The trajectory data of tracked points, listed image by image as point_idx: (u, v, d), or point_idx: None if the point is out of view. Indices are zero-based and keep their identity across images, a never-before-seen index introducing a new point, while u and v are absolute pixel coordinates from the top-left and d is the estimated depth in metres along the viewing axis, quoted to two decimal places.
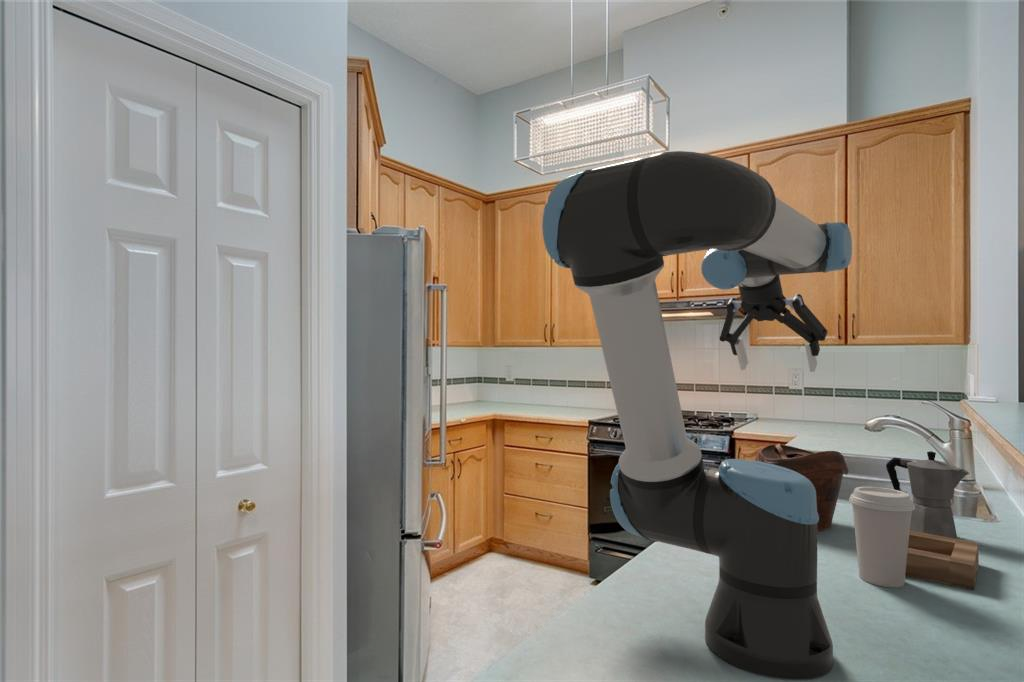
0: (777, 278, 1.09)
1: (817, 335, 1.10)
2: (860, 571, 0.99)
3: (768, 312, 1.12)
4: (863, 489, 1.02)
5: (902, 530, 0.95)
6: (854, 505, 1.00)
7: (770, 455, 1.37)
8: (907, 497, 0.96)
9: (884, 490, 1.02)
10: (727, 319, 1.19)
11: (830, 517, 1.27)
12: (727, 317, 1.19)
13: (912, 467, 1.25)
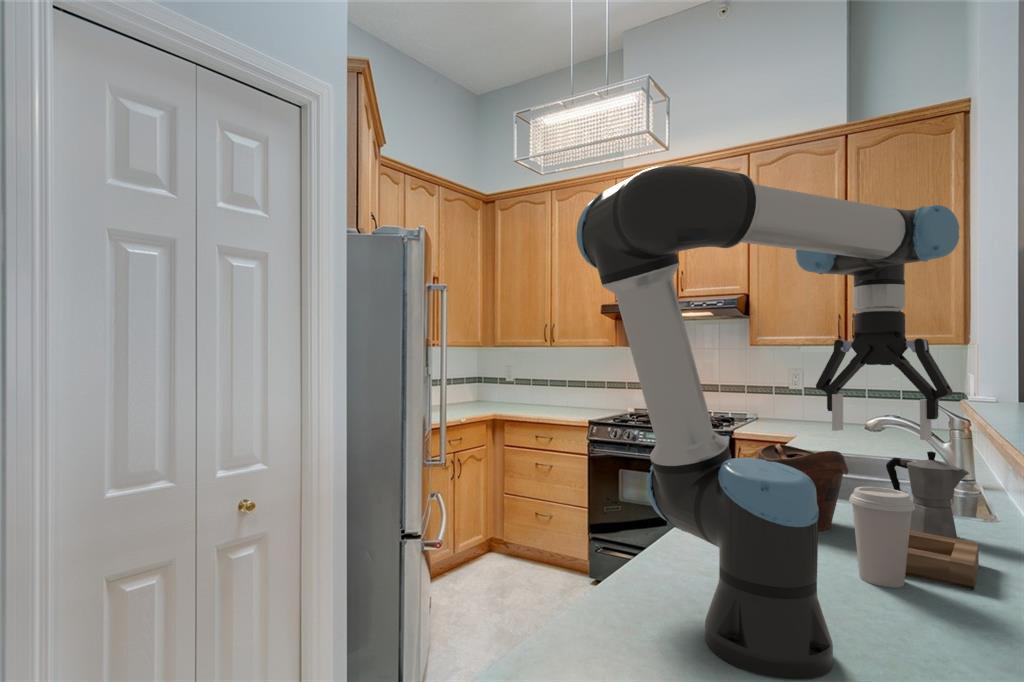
0: (902, 313, 0.97)
1: (938, 388, 0.92)
2: (860, 571, 0.99)
3: (882, 350, 0.98)
4: (863, 489, 1.02)
5: (902, 530, 0.95)
6: (854, 505, 1.00)
7: (770, 455, 1.37)
8: (907, 497, 0.96)
9: (884, 490, 1.02)
10: (831, 359, 1.05)
11: (830, 517, 1.27)
12: (832, 357, 1.05)
13: (912, 467, 1.25)
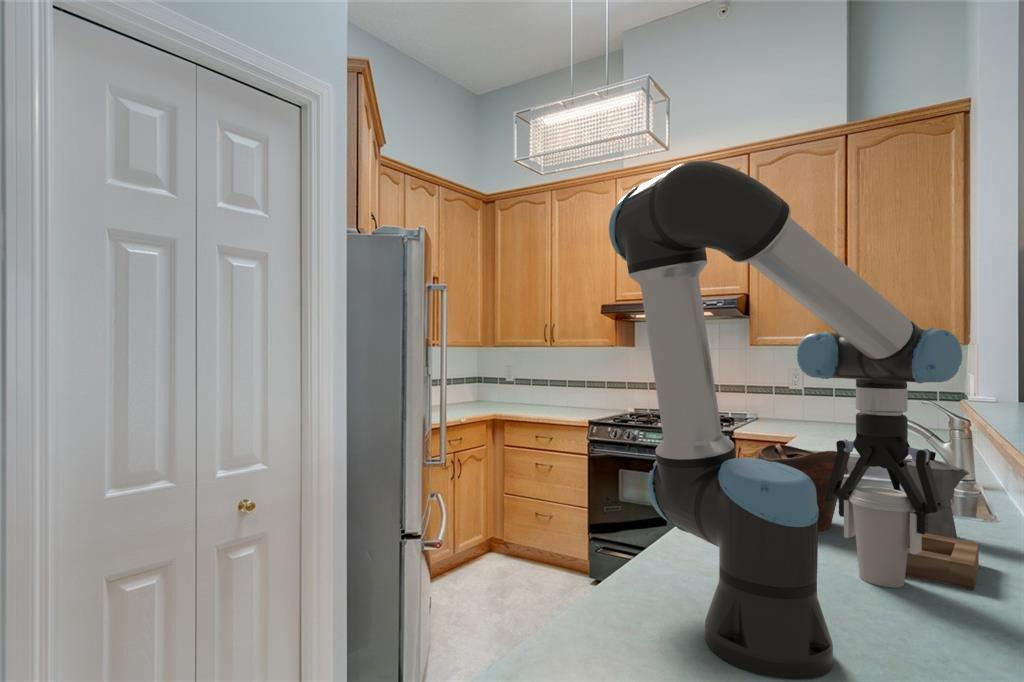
0: (904, 417, 0.97)
1: (929, 503, 0.93)
2: (860, 571, 0.99)
3: (884, 454, 0.97)
4: (863, 489, 1.02)
5: (903, 530, 0.95)
6: (854, 505, 1.00)
7: (770, 455, 1.37)
8: (907, 497, 0.96)
9: (884, 490, 1.01)
10: (837, 461, 1.04)
11: (830, 517, 1.27)
12: (837, 459, 1.04)
13: (912, 467, 1.25)
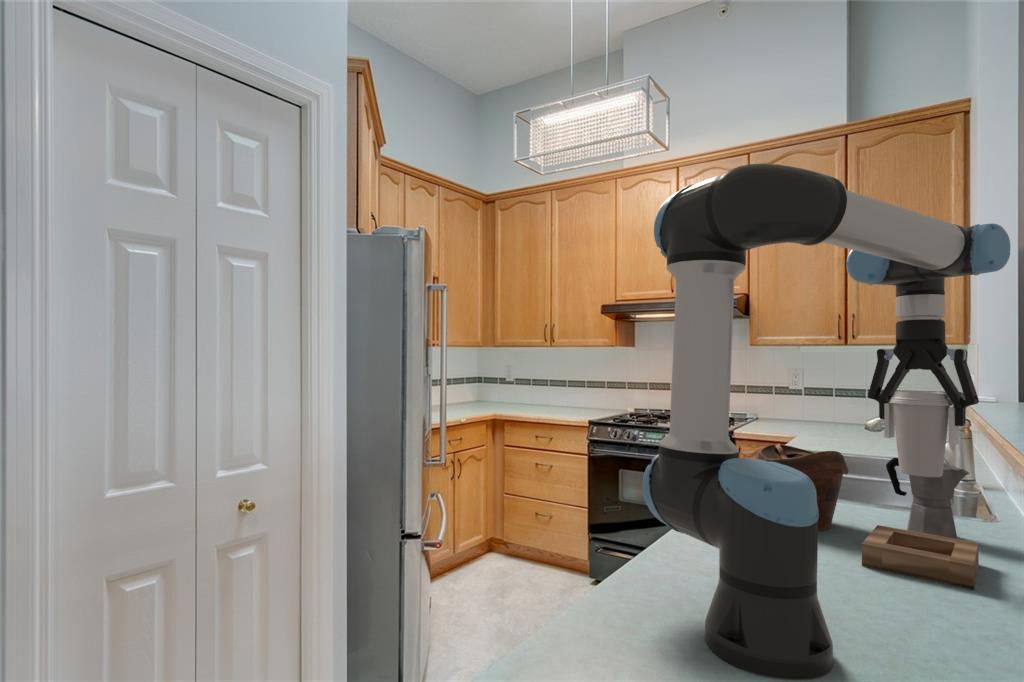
0: (942, 321, 1.04)
1: (967, 396, 1.00)
2: (901, 466, 1.07)
3: (924, 355, 1.05)
4: None
5: (942, 424, 1.03)
6: (895, 405, 1.08)
7: (770, 455, 1.37)
8: (946, 394, 1.04)
9: (922, 393, 1.09)
10: (877, 368, 1.12)
11: (830, 517, 1.27)
12: (877, 366, 1.12)
13: None
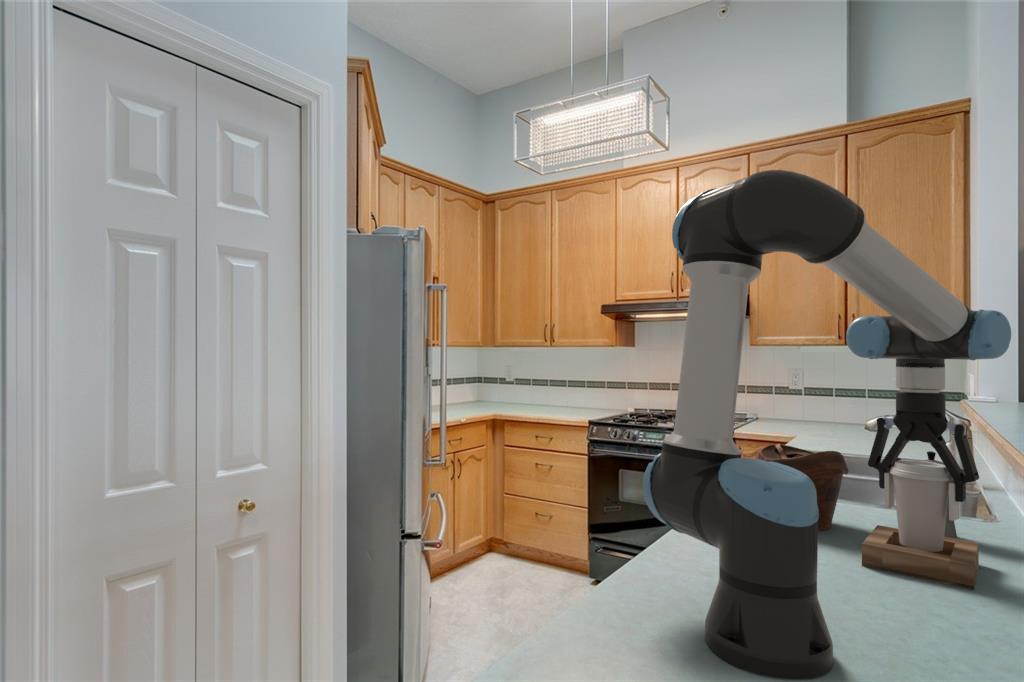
0: (943, 394, 1.04)
1: (967, 473, 1.00)
2: (901, 538, 1.07)
3: (924, 428, 1.05)
4: (903, 462, 1.10)
5: (942, 499, 1.03)
6: (895, 476, 1.07)
7: (770, 455, 1.37)
8: (946, 468, 1.03)
9: (922, 463, 1.09)
10: (877, 437, 1.11)
11: (830, 517, 1.27)
12: (877, 435, 1.11)
13: None
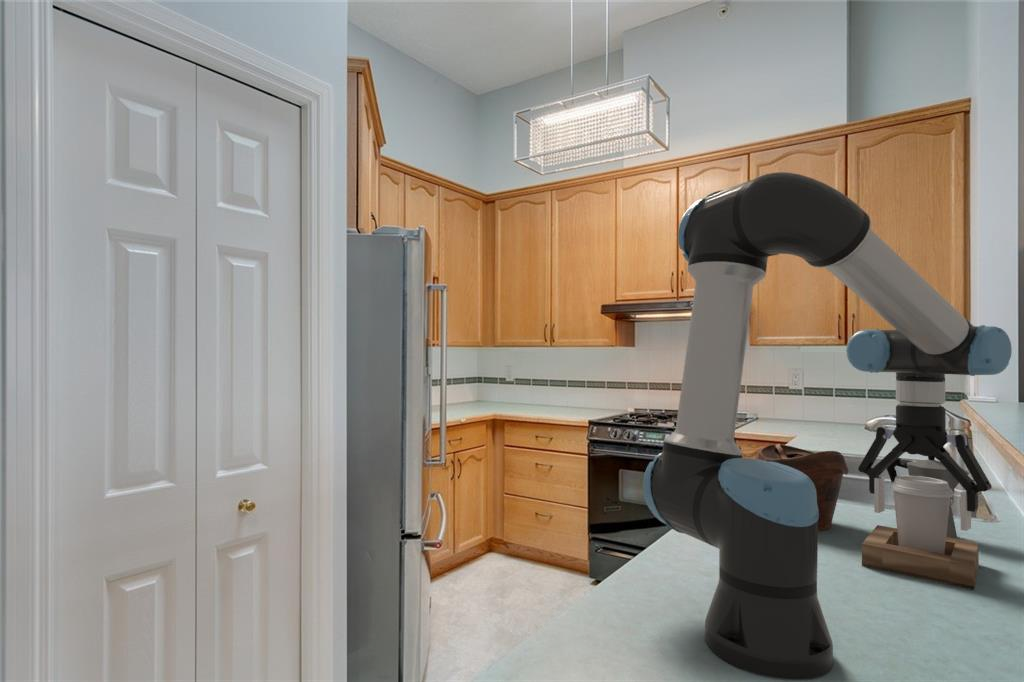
0: (943, 408, 1.04)
1: (978, 483, 0.99)
2: None
3: (924, 442, 1.05)
4: (903, 478, 1.09)
5: (942, 515, 1.02)
6: (895, 492, 1.07)
7: (770, 455, 1.37)
8: (946, 484, 1.03)
9: (923, 478, 1.09)
10: (873, 445, 1.12)
11: (830, 517, 1.27)
12: (874, 443, 1.12)
13: (912, 467, 1.25)
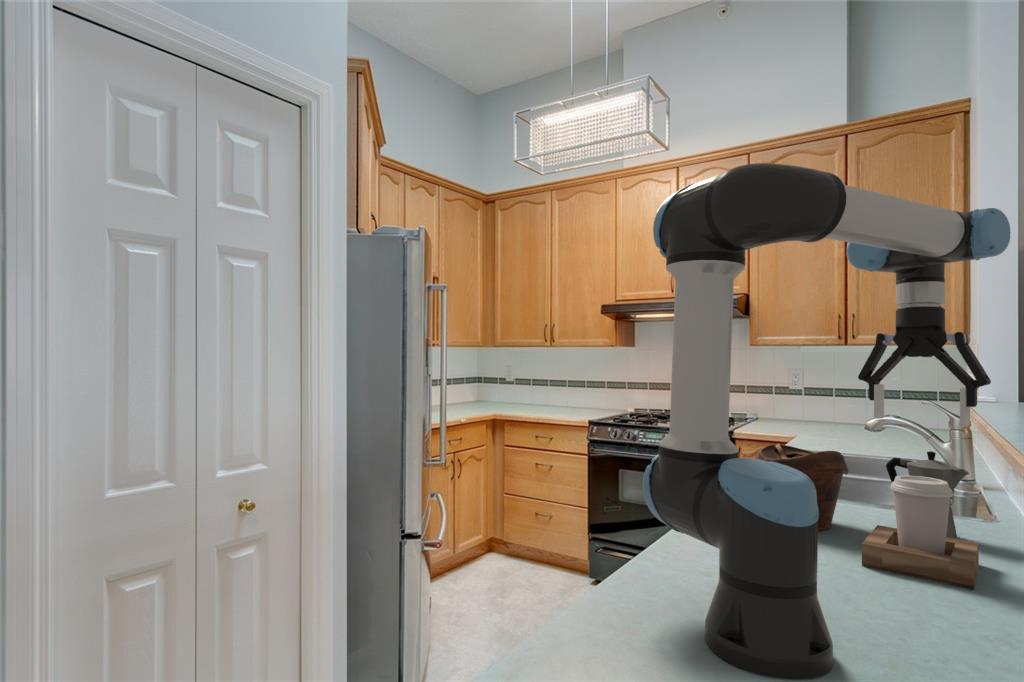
0: (942, 308, 1.05)
1: (977, 377, 0.99)
2: None
3: (924, 342, 1.05)
4: (903, 478, 1.09)
5: (942, 515, 1.03)
6: (895, 492, 1.07)
7: (770, 455, 1.37)
8: (946, 484, 1.03)
9: (923, 478, 1.09)
10: (873, 352, 1.12)
11: (830, 517, 1.27)
12: (874, 349, 1.12)
13: (912, 467, 1.25)
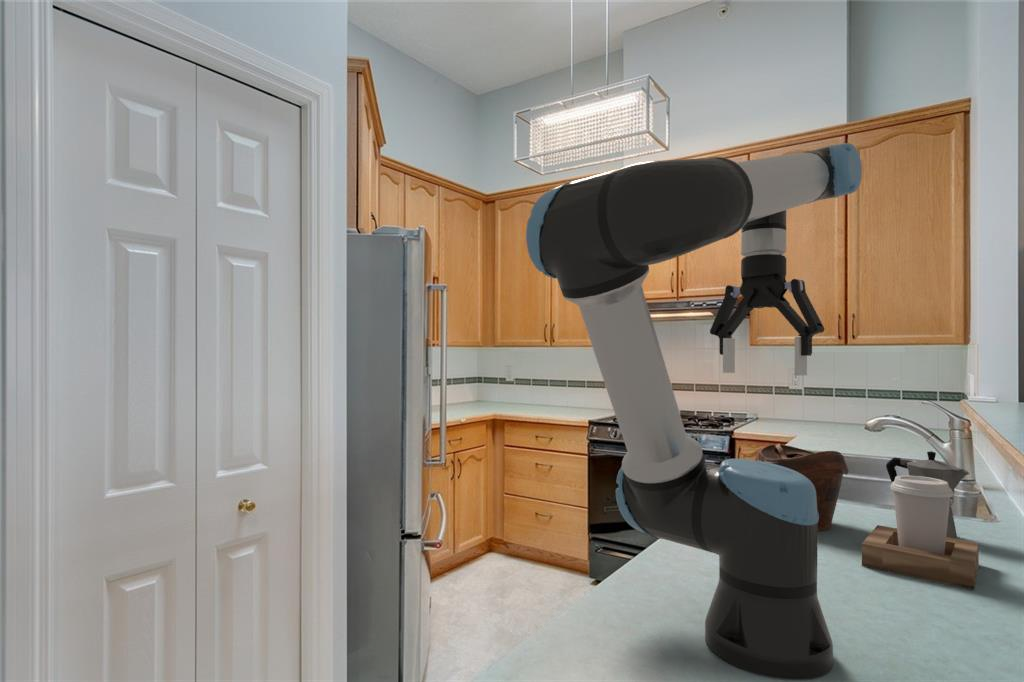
0: (782, 256, 1.02)
1: (810, 324, 0.96)
2: None
3: (764, 292, 1.02)
4: (903, 478, 1.09)
5: (942, 515, 1.02)
6: (895, 492, 1.07)
7: (770, 455, 1.37)
8: (946, 484, 1.03)
9: (923, 478, 1.09)
10: (722, 305, 1.09)
11: (830, 517, 1.27)
12: (723, 302, 1.09)
13: (912, 467, 1.25)
